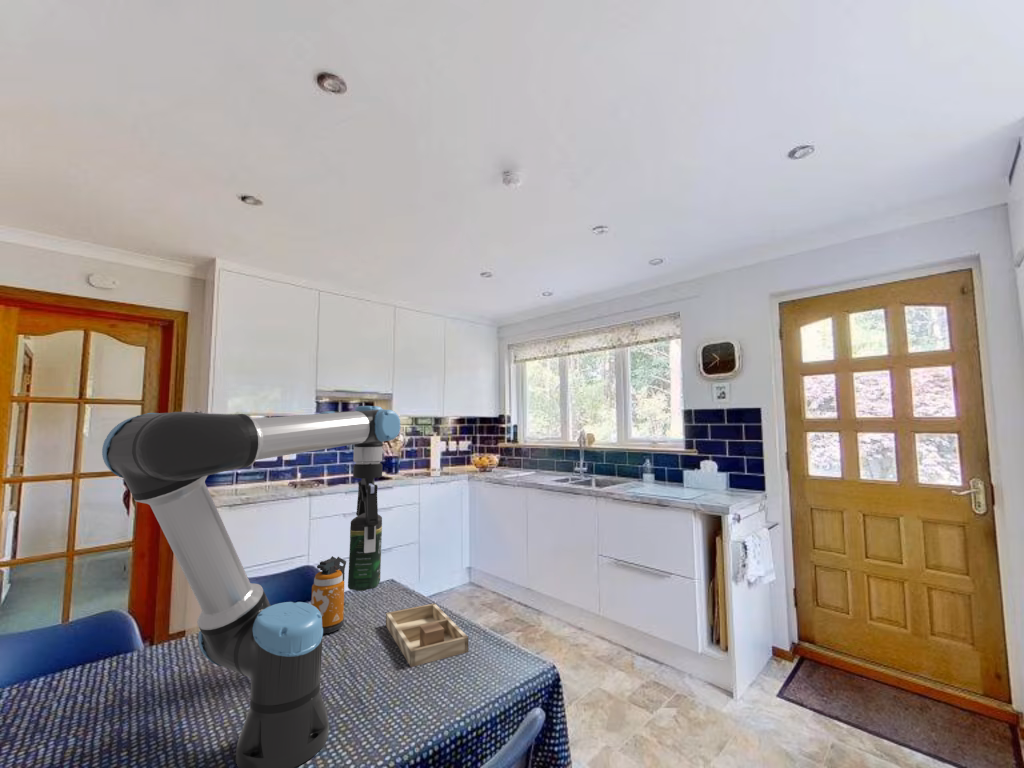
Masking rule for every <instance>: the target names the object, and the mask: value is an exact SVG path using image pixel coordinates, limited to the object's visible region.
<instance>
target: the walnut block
mask: <svg viewBox="0 0 1024 768" xmlns="http://www.w3.org/2000/svg"><path fill="white" fill-rule="evenodd" d="M440 642H444V628H443V627H442V626H441V625H440V624H439V623H438V622H435V623H431V624H426V625H422V626H420V647H423V646H427V645H432V644H436V643H440Z"/></svg>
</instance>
